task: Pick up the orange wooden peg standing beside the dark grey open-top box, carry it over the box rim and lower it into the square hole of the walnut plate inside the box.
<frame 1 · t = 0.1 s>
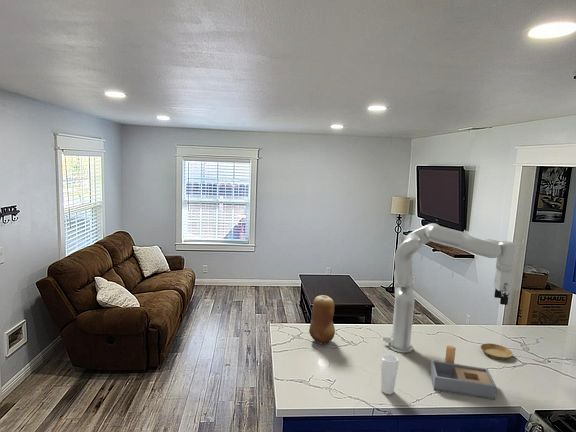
hand: (500, 300, 194), 31 cm above the kitchen counter, tool pointing down, fingers open, 9 cm apart
plant saucer: (495, 355, 205), on the kitchen counter
box: (460, 385, 175), on the kitchen counter
butternut squash: (321, 342, 211), on the kitchen counter
drinking glass: (387, 391, 168), on the kitchen counter
peg: (449, 367, 190), on the kitchen counter
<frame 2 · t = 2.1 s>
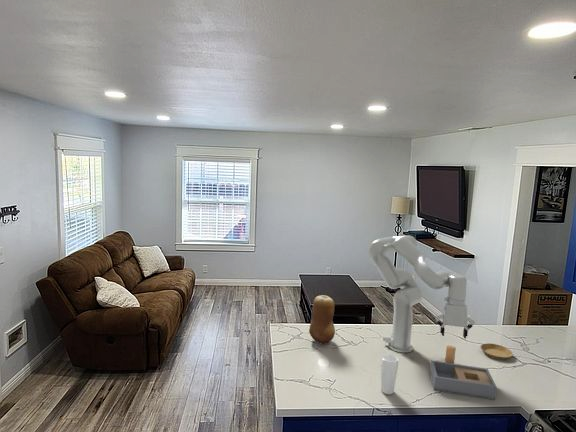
hand: (453, 336, 187), 16 cm above the kitchen counter, tool pointing down, fingers open, 9 cm apart
nothing on the kitchen counter moved.
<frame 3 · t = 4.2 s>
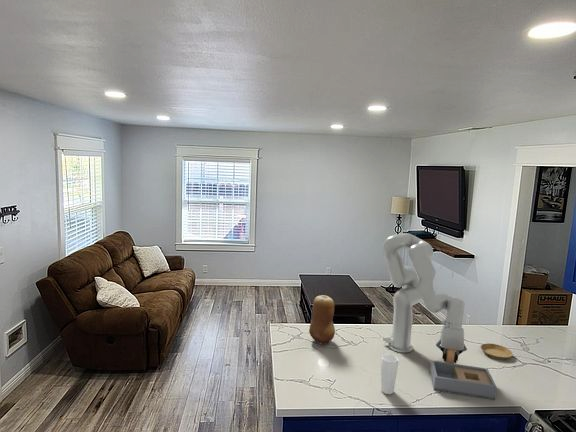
hand: (449, 360, 190), 3 cm above the kitchen counter, tool pointing down, fingers closed on peg, 4 cm apart
peg: (449, 367, 190), on the kitchen counter, touching gripper
everything else where it was.
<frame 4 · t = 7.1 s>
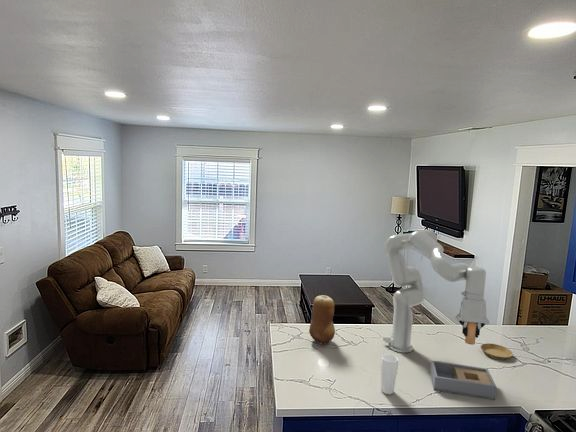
hand: (470, 335, 174), 22 cm above the kitchen counter, tool pointing down, fingers closed on peg, 4 cm apart
peg: (469, 342, 175), point 19 cm above the kitchen counter, touching gripper
everything else where it was.
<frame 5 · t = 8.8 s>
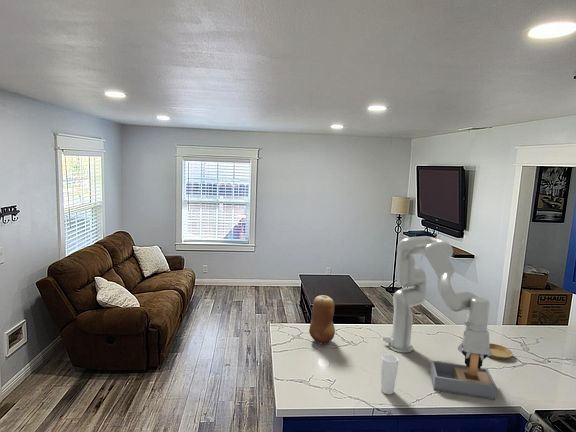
hand: (473, 366, 172), 10 cm above the kitchen counter, tool pointing down, fingers closed on peg, 4 cm apart
peg: (472, 373, 173), point 7 cm above the kitchen counter, touching gripper
everything else where it was.
when the fingers open (6 cm above the kitchen counter, at t = 9.9 s): peg drops 2 cm, resting on box.
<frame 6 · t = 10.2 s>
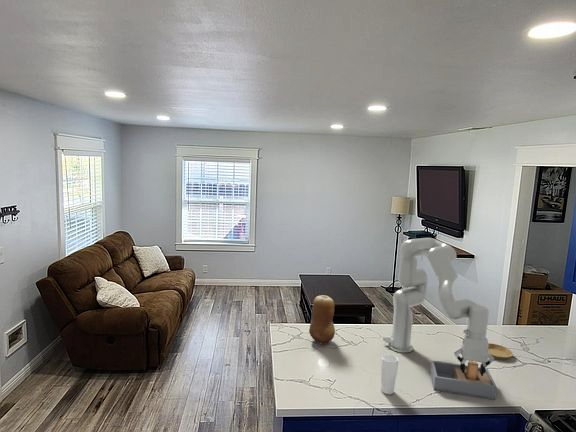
hand: (472, 372, 173), 7 cm above the kitchen counter, tool pointing down, fingers open, 7 cm apart
peg: (470, 384, 174), point 1 cm above the kitchen counter, touching box
everything else where it was.
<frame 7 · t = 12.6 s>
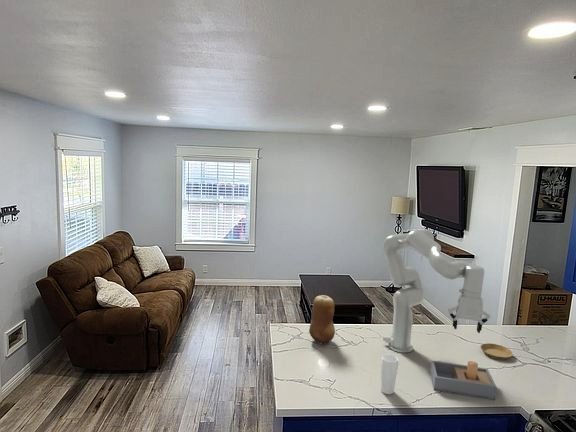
hand: (466, 329, 177), 23 cm above the kitchen counter, tool pointing down, fingers open, 9 cm apart
nothing on the kitchen counter moved.
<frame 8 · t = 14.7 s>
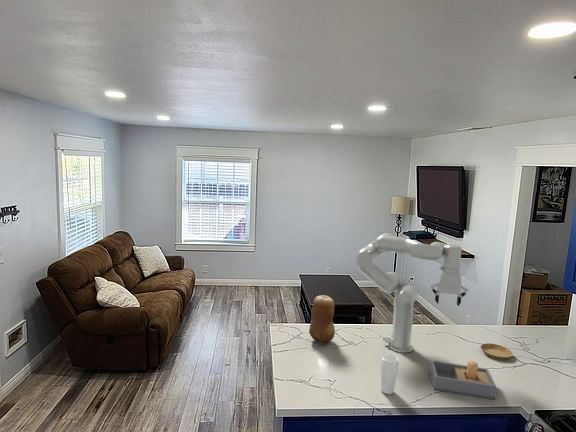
hand: (447, 303, 195), 28 cm above the kitchen counter, tool pointing down, fingers open, 9 cm apart
nothing on the kitchen counter moved.
at the end: peg 0.1 cm from the target spot on the box, point 1.0 cm above the box's base; peg tilted 0°; the gripper is holding nothing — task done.
